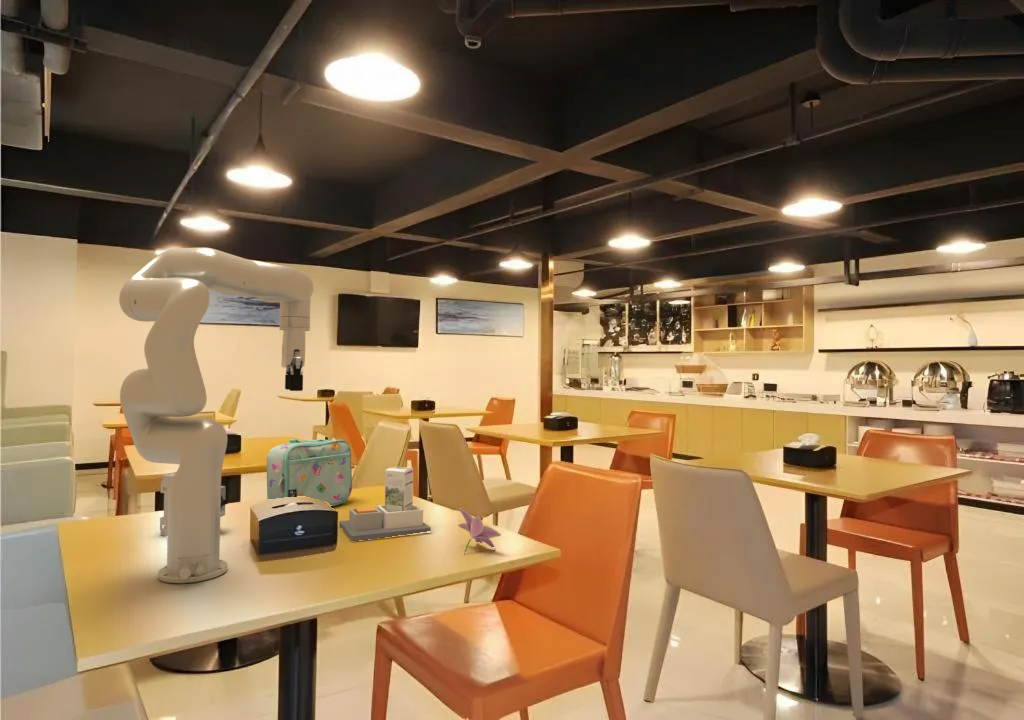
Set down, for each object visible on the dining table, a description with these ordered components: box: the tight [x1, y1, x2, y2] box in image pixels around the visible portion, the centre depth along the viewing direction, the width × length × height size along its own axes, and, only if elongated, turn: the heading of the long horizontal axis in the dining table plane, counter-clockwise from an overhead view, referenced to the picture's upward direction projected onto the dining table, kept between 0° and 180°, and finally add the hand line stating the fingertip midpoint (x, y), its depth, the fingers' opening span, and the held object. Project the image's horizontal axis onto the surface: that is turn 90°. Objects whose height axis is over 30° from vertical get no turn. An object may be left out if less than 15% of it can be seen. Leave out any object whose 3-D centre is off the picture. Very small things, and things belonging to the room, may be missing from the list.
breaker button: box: [354, 506, 376, 514], centre depth 159 cm, size 4×4×4 cm
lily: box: [457, 507, 502, 552], centre depth 144 cm, size 12×12×10 cm
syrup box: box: [384, 466, 414, 512], centre depth 163 cm, size 6×6×14 cm
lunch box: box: [266, 438, 353, 507], centre depth 184 cm, size 27×10×21 cm, turn 150°
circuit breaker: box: [159, 471, 229, 537], centre depth 156 cm, size 8×14×15 cm, turn 89°
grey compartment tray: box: [338, 502, 432, 542], centre depth 161 cm, size 16×20×6 cm
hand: (293, 390), depth 161 cm, fingers open, 9 cm apart
